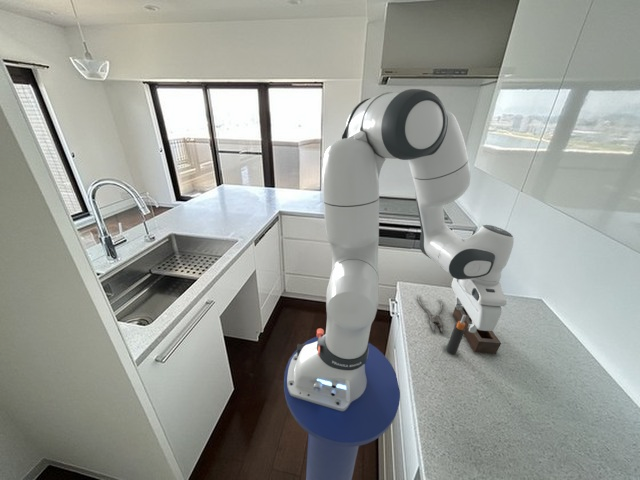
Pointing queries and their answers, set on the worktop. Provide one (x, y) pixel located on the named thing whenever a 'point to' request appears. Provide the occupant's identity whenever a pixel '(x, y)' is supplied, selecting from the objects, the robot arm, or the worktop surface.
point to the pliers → (434, 318)
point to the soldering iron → (456, 336)
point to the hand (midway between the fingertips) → (464, 319)
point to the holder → (478, 335)
